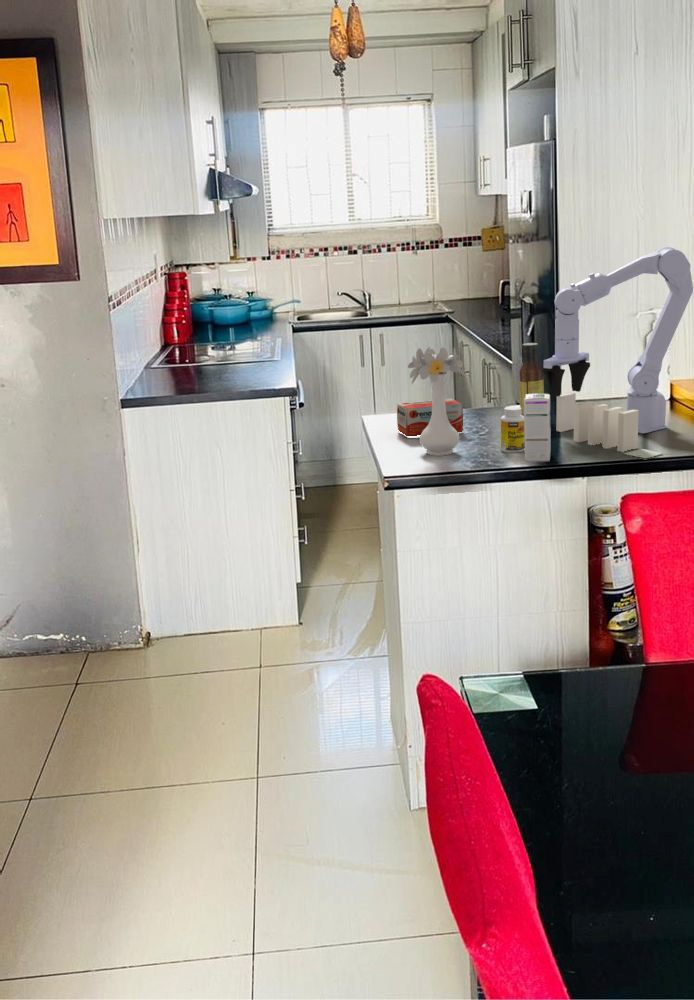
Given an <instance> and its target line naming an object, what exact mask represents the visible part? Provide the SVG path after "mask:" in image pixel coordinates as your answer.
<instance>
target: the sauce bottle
mask: <svg viewBox="0 0 694 1000" xmlns="http://www.w3.org/2000/svg"><path fill="white" fill-rule="evenodd" d="M521 347H522V352H523V353H522V354H523V355H522V356H523V358H522V364H521V366H520V368H519V371H518V373H519V407H521V409H522V414H521V415H522V416H524V398H525V395H526V394H535V393H543V394H545V388H544V387H545V386H544V375H543V373H544V372H543V368H541V366H540V363H539V354H538V350H539V343H536V342H527V343H522V346H521Z"/></svg>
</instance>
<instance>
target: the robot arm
mask: <svg viewBox="0 0 694 1000" xmlns="http://www.w3.org/2000/svg"><path fill="white" fill-rule="evenodd" d="M643 274H649V275H658V274H660V275H661V276H662V277H663V278H664V281H665V282H666V285H667V287H668V289H669V293H668V296H667V297H666V300H665V302H664V304H663V307H662V309H661V311H660V313H659V315H658V318H657V320H656V322H655V325H654V327H653V330H652V332H651V334H650V336H649V338H648V341H647V342H646V345H645V348H644V350H643V352H642V353H641V355H640V356H639V357H638V360H637V361H636V363H635V364H634V365H633V366H631V368H630V369H629V371H628V373H627V382H628V383H629V385H630V388H629V390H627V391H626V392H627V393H626V397H627V398H626V411H629V410H639V415H638V434H648V433H653V432H655V431H660V430H663V429H664V430H665V429H667V428H669V425H667V424H666V417H667V416H666V415H667V414H666V413H667V412H666V410H667V401H666V398H665V396H664V394H663V393H661V392H660V391H658V390H657V389H658V388H659V385H660V383H659V382H660V380H659V377H660V373H661V370H662V366H663V360H664V358H665V355H666V353H667V351H668V349H669V348H670V347H669V346H670V344H671V341H672V340H673V337H674V336H675V333H676V330H677V328H678V326H679V324H680V322H681V319H682V317H683V315H684V313H685V310H686V309H687V306H688V303H689V301H690V299H691V297H692V295H693V292H694V285H693V279H692V278H693V277H692V273H691V263H690V262H689V259H688V258H687V257H686V255H685V254H684V253H683V251H681V250H679V249H676V248H673V247H669V246H667V247H663V248H660V249H659V250H658V251H656V250H655V251H652V252H650V253H647V254H645V255H642V256H640V257H638V258H637V259H634V260H633V261H630V262H629V263H626V264H624V265H623V266H621V267H619V268H617V269H615V270H613V271H611V272H609V273H608V274H603V273H600V272H597V273H595V272H591V273H589V274H588V278H585V279H583V280H580V281H579V282H577V283H574V282H573V283H570V285H569V286H570V288H567V287H565V288H561V289H560V290H559V291H558V292H557V293H556V295H555V299H554V300H553V302H554V306H555V307H556V310H555V321H554V323H555V325H554V326H555V327H554V333H555V334H554V355H552V357H549V358H547V359H544V360H543V366H542V373H544V375H545V378H546V379H547V382H548V385H549V389H550V393H551V394H550V395H551V396H552V397H553V396H554V397H557V396H560V395H561V392H562V381H563V377H564V374H565V371H566V369H563V368H560V366H567V365H568V367H569V372H570V378H571V390H572V392H581V390H582V387H583V382H584V379H585V376H586V374H587V373H588V370H590V367H591V362H589V361H590V353H589V352H579V351H580V350H579V349H580V347H579V346H580V344H579V343H580V319H579V310H580V308H581V307H582V306H587V305H589V304H591V303H594V302H596V301H598V300H601V299H603V298H605V297H607V296H609V294H610V293H611V290H612V288H613V287H616V286H617V285H620V284H622V283H625V282H627V281H629V280H631V279H634V278H636V277H639V276H640V275H643Z"/></svg>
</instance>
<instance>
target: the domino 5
mask: <svg viewBox="0 0 694 1000" xmlns="http://www.w3.org/2000/svg"><path fill="white" fill-rule="evenodd" d="M638 415H639V410H629V411H627V410H623V412H620V413H618V445H617V449H616V451H617V452H619V451H621V452H620V453H624V452H623V451H626V452H628V451H627V450H630V451H632V450H631V449H634V448H637V449H638V443H639V442H638V441H639V440H638V438H639V437H638V436H639V433H638ZM634 450H635V449H634Z"/></svg>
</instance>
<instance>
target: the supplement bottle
mask: <svg viewBox="0 0 694 1000" xmlns="http://www.w3.org/2000/svg"><path fill="white" fill-rule="evenodd" d="M521 414H522V409H521V407H520V406H511V405H510V406H506V407H504V415H502V416H501V417H500V450H501V452H503V453H507V454H510V453H511V454H519V453H522V452H523V451H525V448H524V416H522V415H521Z"/></svg>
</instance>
